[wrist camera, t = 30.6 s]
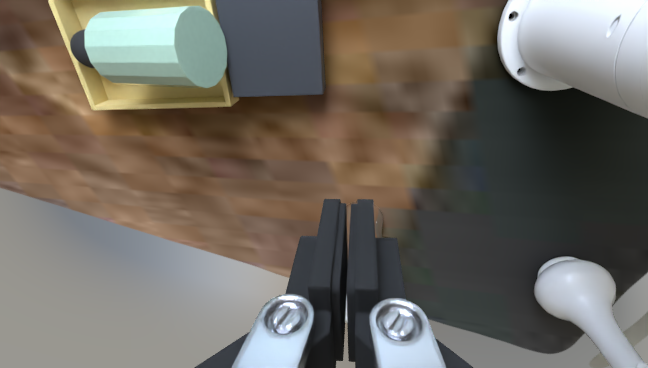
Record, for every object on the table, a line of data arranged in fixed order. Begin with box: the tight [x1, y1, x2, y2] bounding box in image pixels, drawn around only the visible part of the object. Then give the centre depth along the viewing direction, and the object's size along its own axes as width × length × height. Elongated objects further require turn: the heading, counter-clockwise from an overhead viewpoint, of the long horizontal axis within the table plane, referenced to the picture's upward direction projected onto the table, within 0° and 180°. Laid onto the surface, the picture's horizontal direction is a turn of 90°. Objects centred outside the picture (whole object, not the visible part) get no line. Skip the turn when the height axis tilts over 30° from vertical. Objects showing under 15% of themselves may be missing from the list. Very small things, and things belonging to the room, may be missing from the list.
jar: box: [84, 6, 227, 88], centre depth 33 cm, size 7×7×11 cm
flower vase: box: [534, 256, 648, 368], centre depth 36 cm, size 13×18×25 cm
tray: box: [48, 0, 239, 110], centre depth 36 cm, size 17×13×3 cm
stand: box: [215, 0, 326, 97], centre depth 35 cm, size 10×11×3 cm
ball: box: [70, 29, 95, 68], centre depth 36 cm, size 4×4×4 cm
